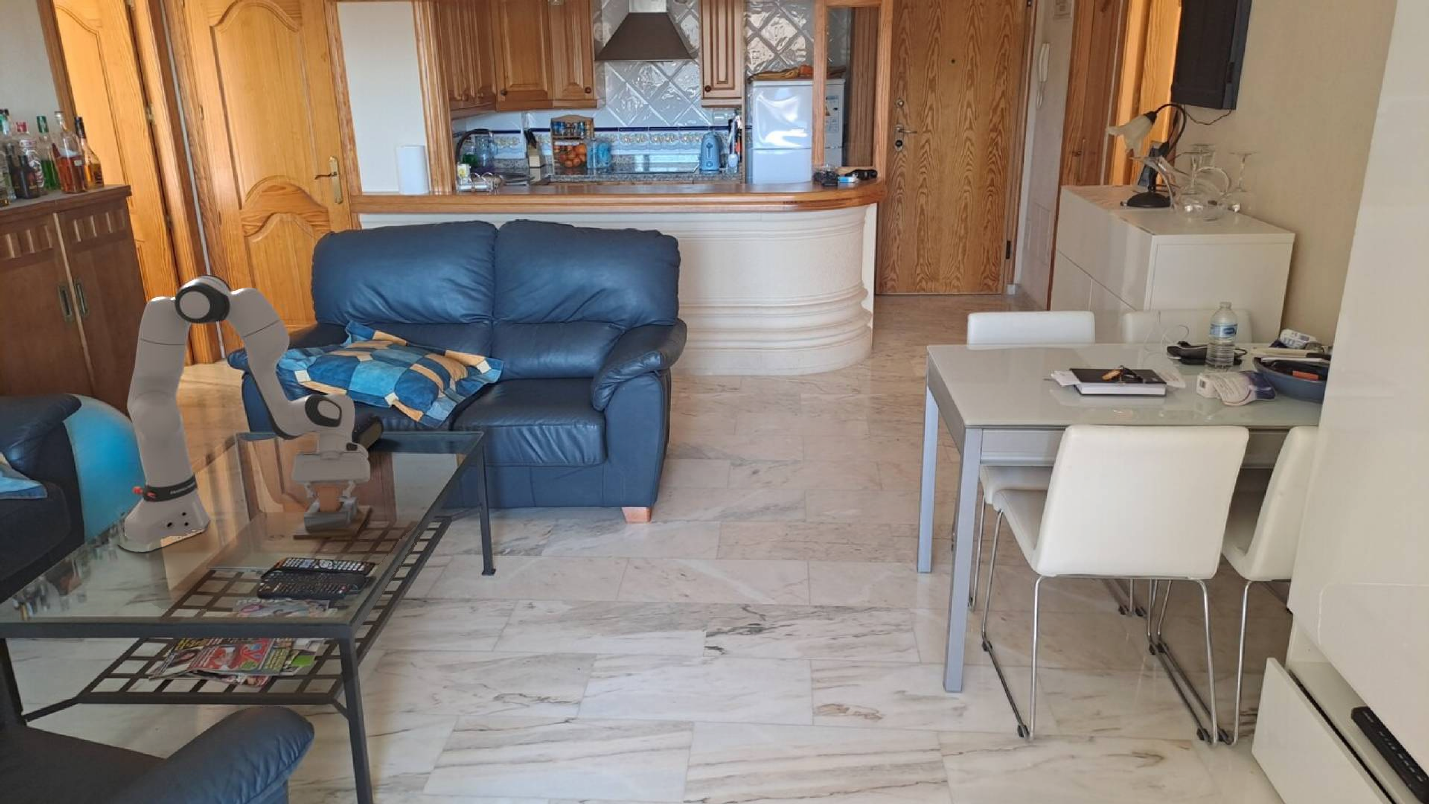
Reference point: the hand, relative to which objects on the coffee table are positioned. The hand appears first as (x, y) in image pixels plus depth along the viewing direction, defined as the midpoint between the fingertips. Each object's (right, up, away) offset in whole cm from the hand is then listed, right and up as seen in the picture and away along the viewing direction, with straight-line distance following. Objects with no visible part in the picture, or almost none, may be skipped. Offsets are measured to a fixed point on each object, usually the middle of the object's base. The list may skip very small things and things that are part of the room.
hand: (328, 498), depth 262 cm
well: (0, -7, +3) cm, 8 cm away
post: (0, -6, +3) cm, 7 cm away
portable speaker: (-10, +10, +50) cm, 52 cm away
